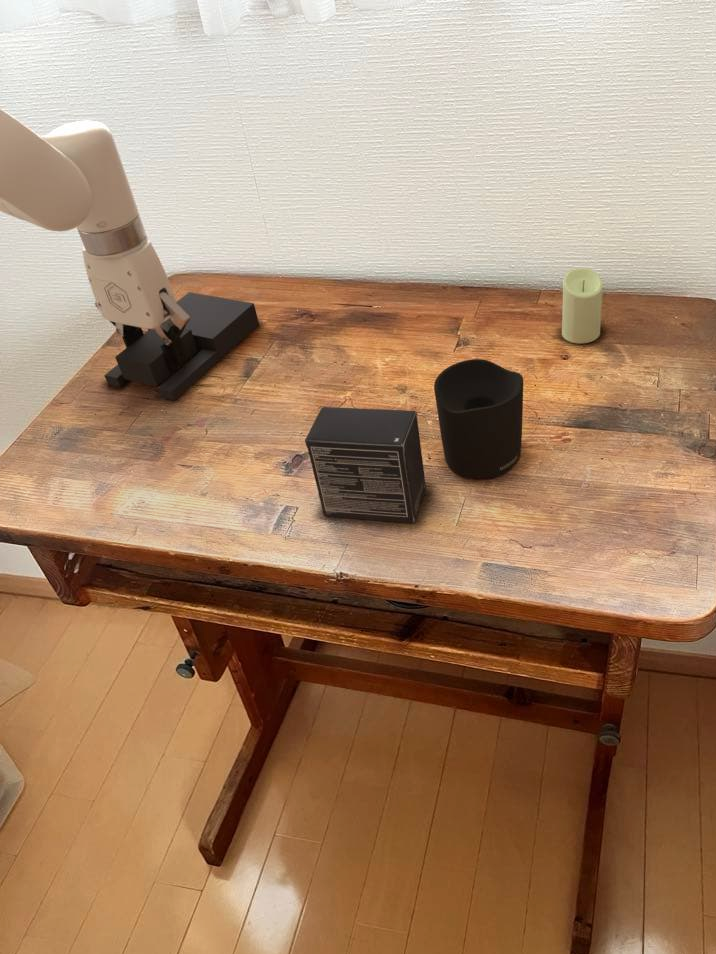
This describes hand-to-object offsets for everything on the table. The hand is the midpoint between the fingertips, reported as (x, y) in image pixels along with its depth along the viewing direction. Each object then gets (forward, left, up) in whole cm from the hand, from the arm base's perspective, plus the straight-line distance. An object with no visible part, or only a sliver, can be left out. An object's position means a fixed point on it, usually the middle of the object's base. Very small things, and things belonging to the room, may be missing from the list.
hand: (159, 359), depth 114 cm
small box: (-13, -41, -2) cm, 43 cm away
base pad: (+5, 0, -2) cm, 5 cm away
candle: (+26, -51, -2) cm, 57 cm away
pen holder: (-2, -49, -2) cm, 49 cm away
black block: (0, 0, -1) cm, 1 cm away
